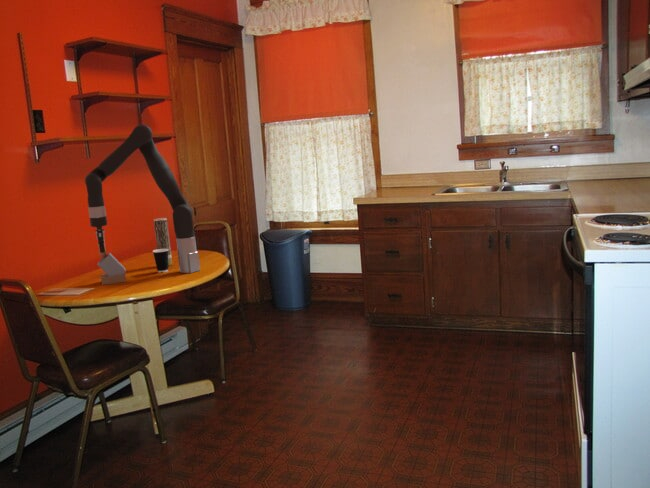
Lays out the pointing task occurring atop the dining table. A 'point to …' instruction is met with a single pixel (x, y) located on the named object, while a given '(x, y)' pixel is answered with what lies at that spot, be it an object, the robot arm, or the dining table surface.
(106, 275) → the socket
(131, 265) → the dining table surface
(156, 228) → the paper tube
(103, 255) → the dowel
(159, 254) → the dixie cup
